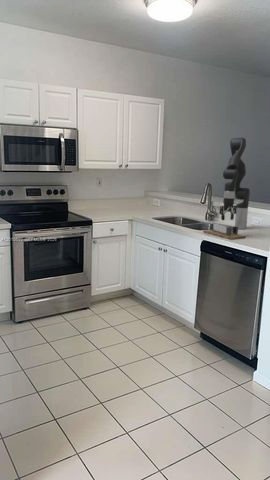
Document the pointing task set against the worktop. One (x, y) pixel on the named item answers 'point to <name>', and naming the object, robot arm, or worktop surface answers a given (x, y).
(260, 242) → the worktop surface
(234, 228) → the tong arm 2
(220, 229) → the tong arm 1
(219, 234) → the tong rest
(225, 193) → the robot arm
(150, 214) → the worktop surface
